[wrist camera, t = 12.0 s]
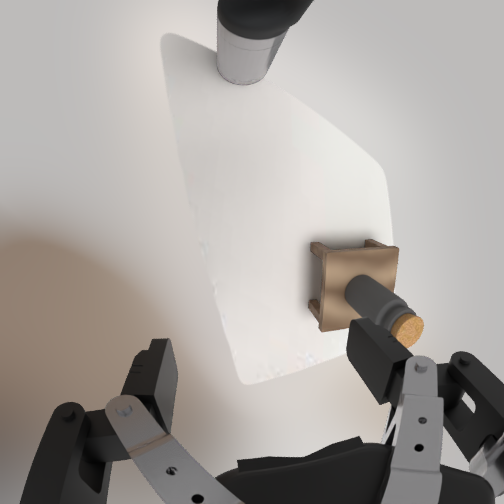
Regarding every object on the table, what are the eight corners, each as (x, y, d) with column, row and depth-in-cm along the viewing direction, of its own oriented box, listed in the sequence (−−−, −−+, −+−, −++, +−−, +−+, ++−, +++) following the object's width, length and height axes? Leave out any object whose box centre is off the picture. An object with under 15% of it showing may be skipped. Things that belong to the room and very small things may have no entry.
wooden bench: (308, 240, 50) (326, 252, 41) (373, 237, 51) (399, 248, 42) (306, 309, 53) (321, 332, 45) (367, 301, 55) (388, 320, 46)
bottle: (362, 267, 42) (417, 304, 28) (379, 288, 44) (432, 328, 29) (337, 292, 43) (384, 339, 28) (356, 312, 44) (402, 360, 30)
